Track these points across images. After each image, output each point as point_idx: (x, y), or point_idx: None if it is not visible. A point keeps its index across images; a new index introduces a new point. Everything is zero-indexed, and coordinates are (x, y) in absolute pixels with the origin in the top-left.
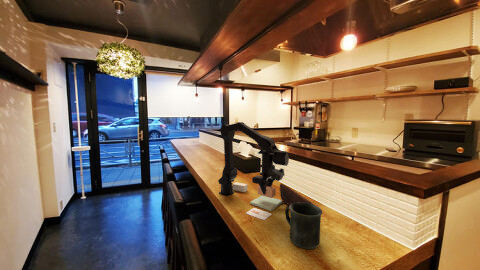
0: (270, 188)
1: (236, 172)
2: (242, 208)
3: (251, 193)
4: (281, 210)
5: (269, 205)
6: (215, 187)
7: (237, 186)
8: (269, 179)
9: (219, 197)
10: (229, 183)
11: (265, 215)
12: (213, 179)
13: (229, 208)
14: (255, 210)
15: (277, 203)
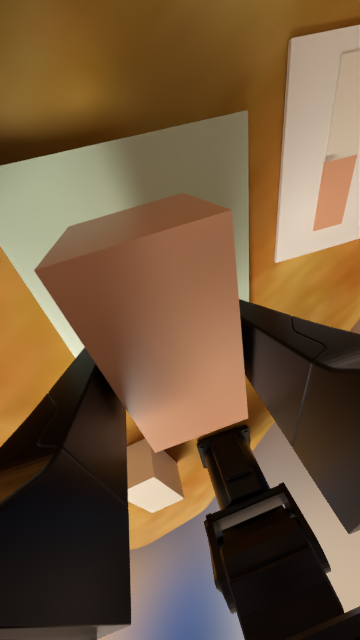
0: (169, 308)
1: (246, 609)
2: (314, 296)
3: None
4: (133, 7)
5: (200, 184)
6: (211, 484)
7: (171, 480)
8: (77, 576)
9: (273, 421)
10: (246, 497)
11: (357, 71)
12: (164, 529)
13: (344, 328)
14: (307, 221)
15: (86, 156)
